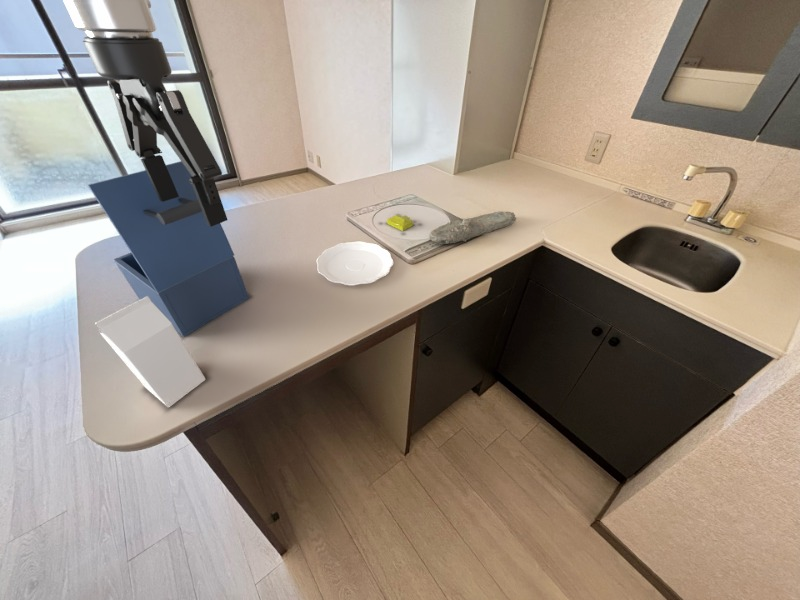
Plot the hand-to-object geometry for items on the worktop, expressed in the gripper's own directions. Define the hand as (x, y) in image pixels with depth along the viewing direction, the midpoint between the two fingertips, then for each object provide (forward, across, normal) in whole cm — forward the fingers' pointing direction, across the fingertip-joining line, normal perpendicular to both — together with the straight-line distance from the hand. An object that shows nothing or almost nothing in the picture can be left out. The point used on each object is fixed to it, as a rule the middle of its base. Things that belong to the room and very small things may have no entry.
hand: (192, 210), depth 51 cm
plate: (+29, -2, -34) cm, 45 cm away
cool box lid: (+7, +12, 0) cm, 14 cm away
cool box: (+29, +20, 0) cm, 35 cm away
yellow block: (+29, +2, -62) cm, 69 cm away
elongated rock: (+28, -20, -73) cm, 81 cm away
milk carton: (+29, 0, +14) cm, 33 cm away
